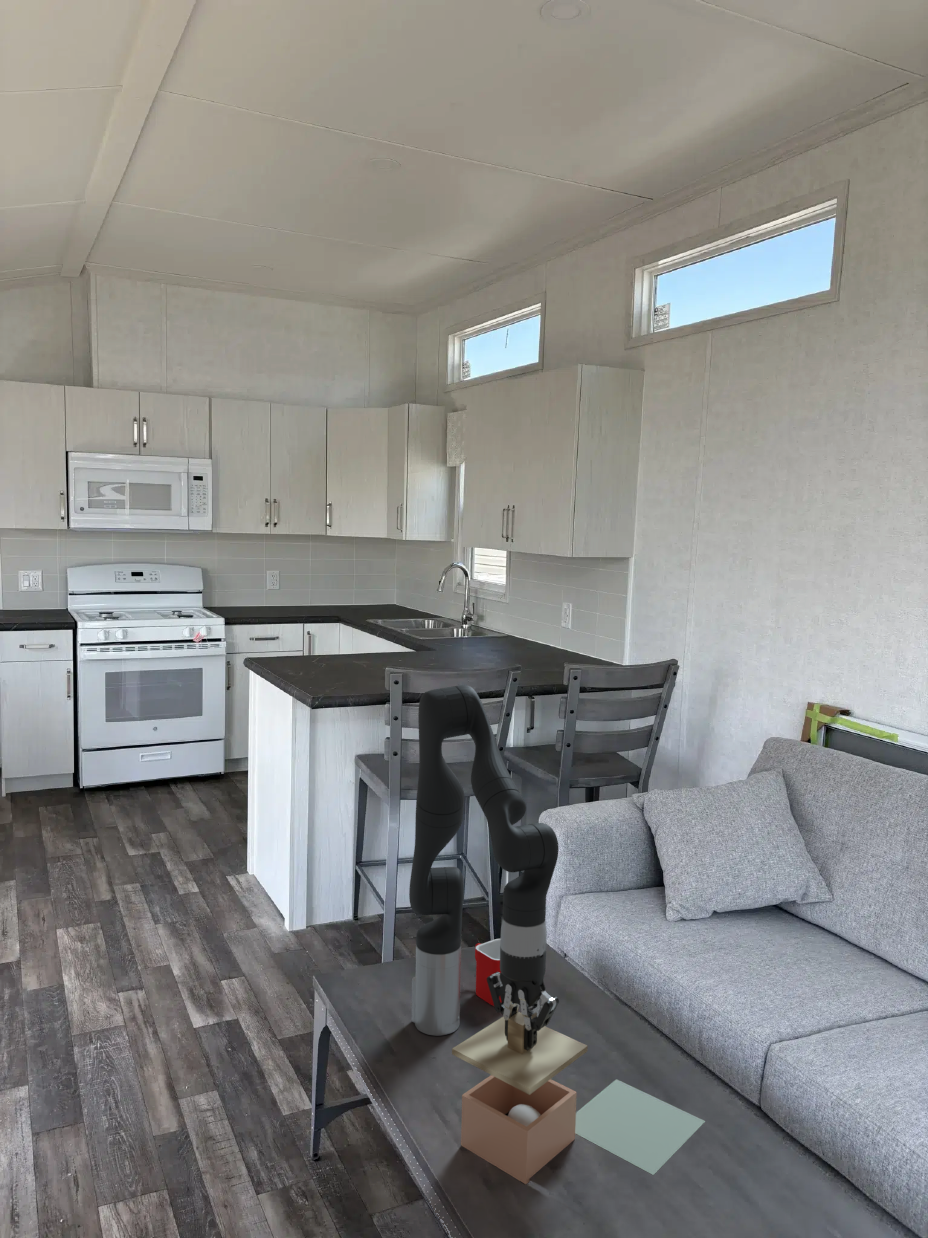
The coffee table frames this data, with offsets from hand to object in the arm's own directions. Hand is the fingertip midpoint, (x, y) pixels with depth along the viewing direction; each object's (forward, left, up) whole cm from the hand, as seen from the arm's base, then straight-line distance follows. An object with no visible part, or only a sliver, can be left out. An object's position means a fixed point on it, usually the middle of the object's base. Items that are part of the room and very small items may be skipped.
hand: (520, 1043), depth 155 cm
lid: (0, 0, -2) cm, 2 cm away
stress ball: (+1, +2, -18) cm, 18 cm away
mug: (-35, +36, -18) cm, 53 cm away
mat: (+12, +17, -18) cm, 27 cm away
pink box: (0, 0, -18) cm, 18 cm away
